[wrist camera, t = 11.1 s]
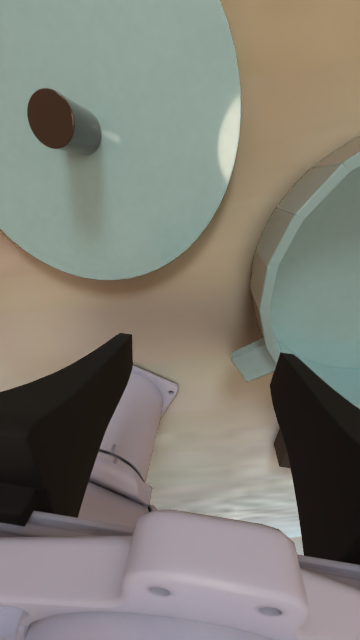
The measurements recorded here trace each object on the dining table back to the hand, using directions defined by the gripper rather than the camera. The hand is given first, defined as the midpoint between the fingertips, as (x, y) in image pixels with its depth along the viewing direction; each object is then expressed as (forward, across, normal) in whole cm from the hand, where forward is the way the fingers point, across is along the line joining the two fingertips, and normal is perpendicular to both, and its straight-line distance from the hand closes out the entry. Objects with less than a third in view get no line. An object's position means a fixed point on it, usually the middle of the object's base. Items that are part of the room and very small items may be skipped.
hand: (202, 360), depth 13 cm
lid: (+9, +9, -10) cm, 16 cm away
